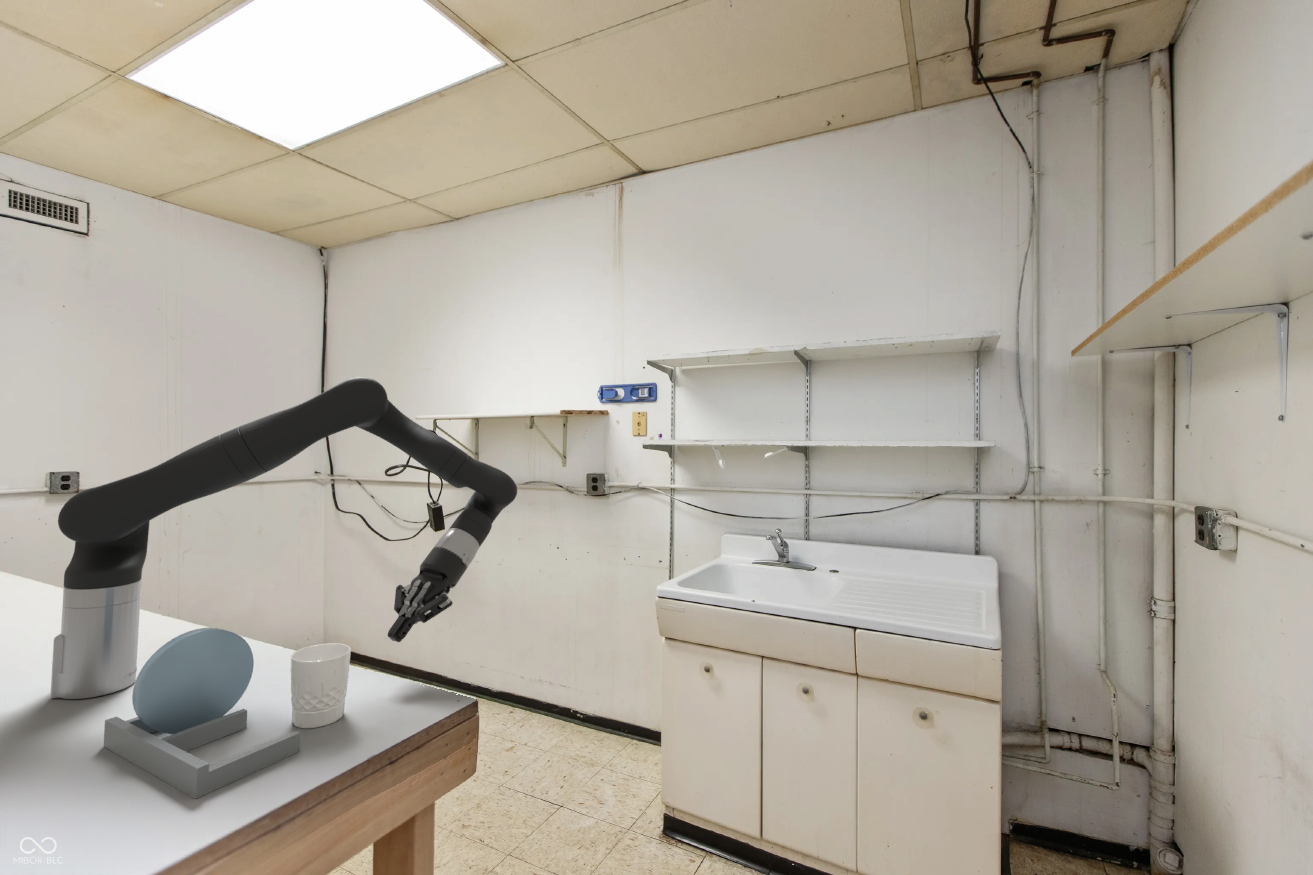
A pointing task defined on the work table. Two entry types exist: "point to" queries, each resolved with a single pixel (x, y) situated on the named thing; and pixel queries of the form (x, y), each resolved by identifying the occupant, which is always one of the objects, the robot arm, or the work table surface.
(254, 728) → the work table surface
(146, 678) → the dish rack
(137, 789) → the work table surface
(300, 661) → the white cup
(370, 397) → the robot arm
